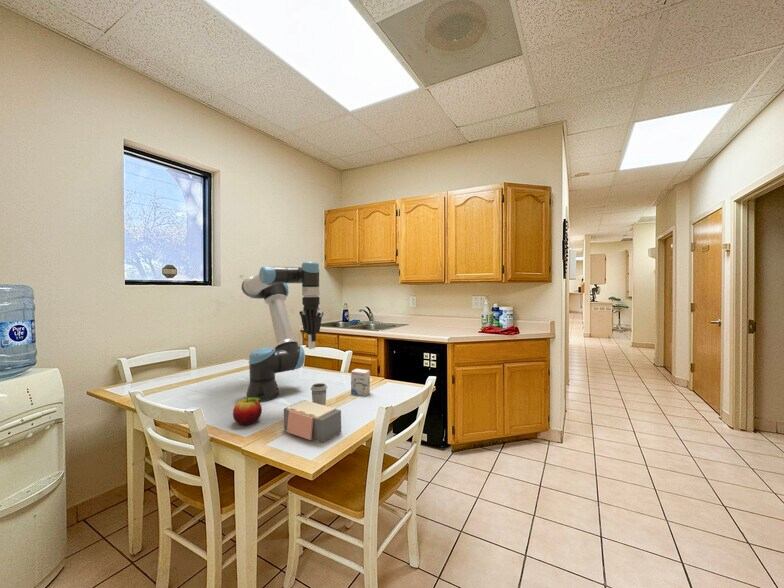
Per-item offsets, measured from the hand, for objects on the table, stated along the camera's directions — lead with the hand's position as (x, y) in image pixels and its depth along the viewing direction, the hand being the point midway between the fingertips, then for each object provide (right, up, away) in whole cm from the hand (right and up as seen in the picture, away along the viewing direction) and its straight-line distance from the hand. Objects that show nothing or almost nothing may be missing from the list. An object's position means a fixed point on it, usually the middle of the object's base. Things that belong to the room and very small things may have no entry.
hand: (311, 348), depth 148 cm
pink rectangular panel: (+3, -23, -29) cm, 37 cm away
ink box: (+20, -26, +17) cm, 37 cm away
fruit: (-22, -28, -16) cm, 39 cm away
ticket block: (+6, -27, -24) cm, 37 cm away
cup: (+5, -27, -6) cm, 28 cm away
